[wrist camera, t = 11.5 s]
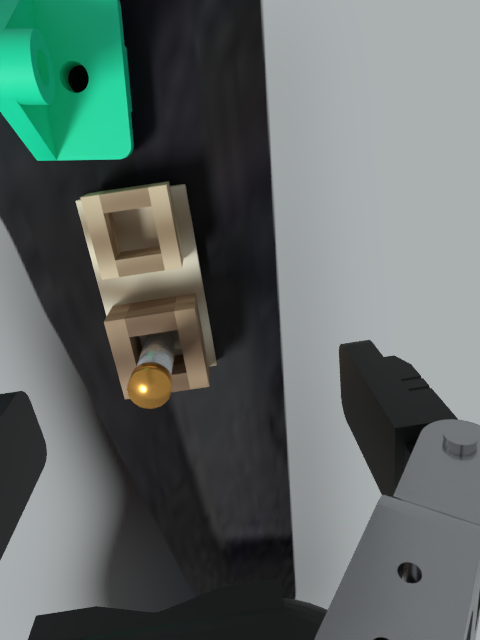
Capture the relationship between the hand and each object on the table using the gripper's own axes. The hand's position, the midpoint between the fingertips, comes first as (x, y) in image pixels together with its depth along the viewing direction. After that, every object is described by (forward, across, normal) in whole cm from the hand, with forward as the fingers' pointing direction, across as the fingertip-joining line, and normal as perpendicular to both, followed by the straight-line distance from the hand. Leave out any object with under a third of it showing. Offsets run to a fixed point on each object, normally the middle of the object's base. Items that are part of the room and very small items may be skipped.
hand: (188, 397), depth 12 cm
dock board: (+32, +6, +7) cm, 34 cm away
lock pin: (+31, +6, +12) cm, 34 cm away
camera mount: (+33, +8, -11) cm, 36 cm away
